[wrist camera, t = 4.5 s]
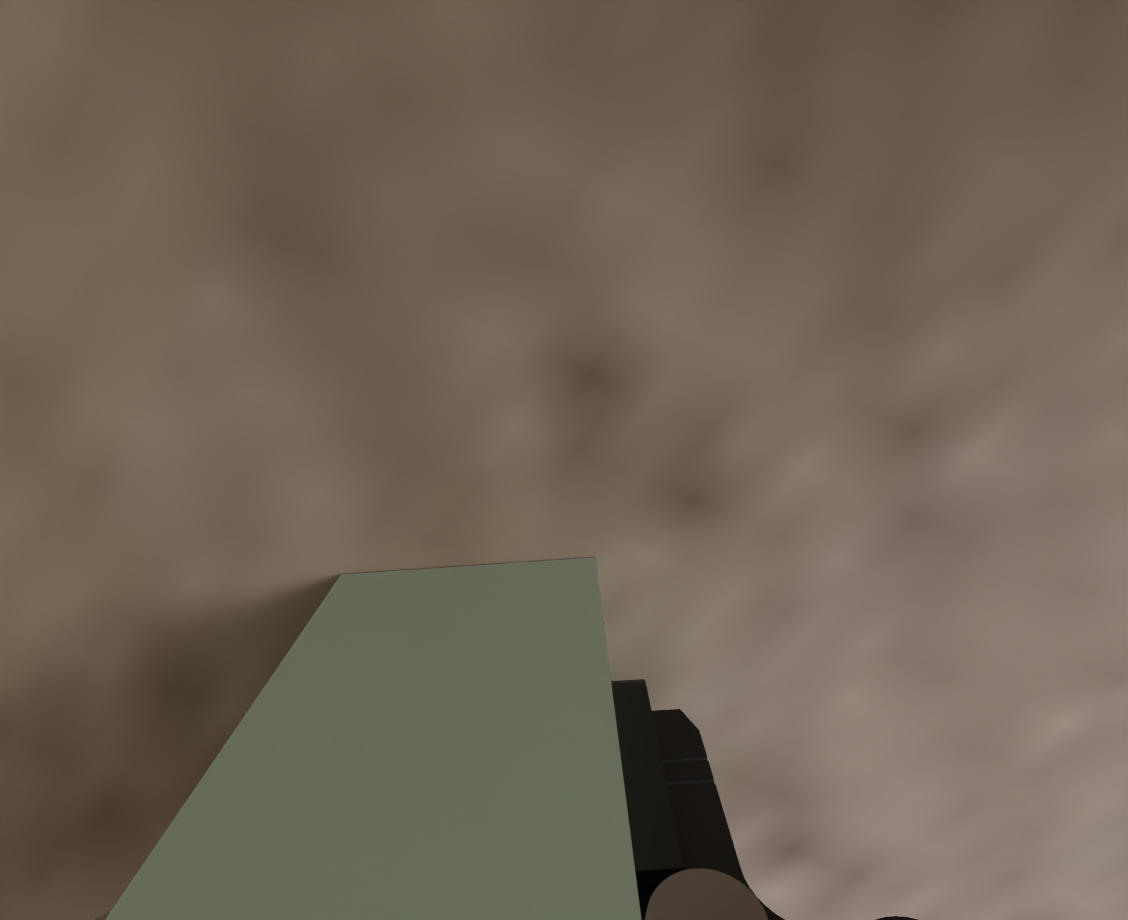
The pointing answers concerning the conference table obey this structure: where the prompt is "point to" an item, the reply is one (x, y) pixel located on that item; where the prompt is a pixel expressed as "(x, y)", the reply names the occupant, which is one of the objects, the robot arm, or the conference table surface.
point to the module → (417, 764)
